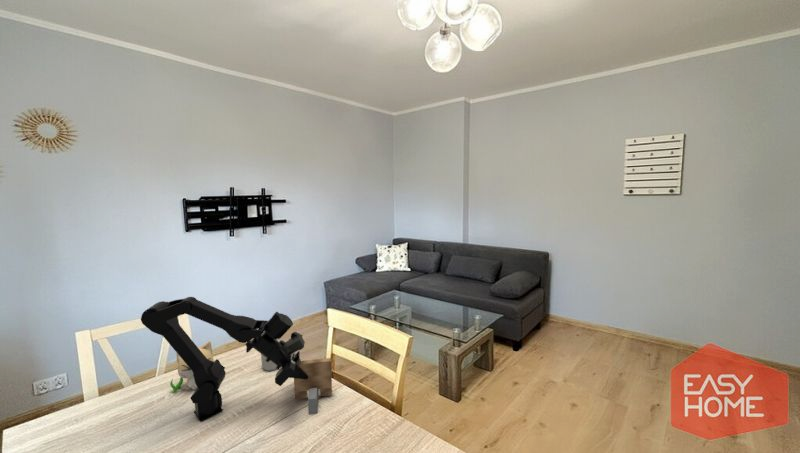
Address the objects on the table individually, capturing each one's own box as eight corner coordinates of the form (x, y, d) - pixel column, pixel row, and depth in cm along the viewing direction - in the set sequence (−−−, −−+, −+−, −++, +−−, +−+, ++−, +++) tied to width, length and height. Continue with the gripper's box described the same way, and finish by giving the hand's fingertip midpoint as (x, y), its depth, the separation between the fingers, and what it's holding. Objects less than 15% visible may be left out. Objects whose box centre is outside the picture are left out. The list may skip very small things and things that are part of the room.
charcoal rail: (317, 413, 102) (316, 398, 102) (308, 414, 102) (308, 399, 101) (318, 386, 116) (318, 373, 115) (311, 387, 115) (310, 374, 115)
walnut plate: (294, 399, 107) (293, 364, 106) (295, 395, 109) (294, 361, 108) (331, 394, 110) (331, 361, 108) (331, 391, 112) (331, 357, 110)
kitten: (169, 400, 110) (165, 358, 108) (172, 384, 118) (168, 345, 116) (220, 385, 117) (217, 346, 115) (219, 372, 126) (216, 335, 124)
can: (268, 374, 124) (266, 344, 122) (258, 367, 128) (256, 338, 127) (286, 365, 130) (284, 336, 128) (275, 359, 134) (273, 331, 133)
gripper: (284, 343, 96) (324, 373, 100) (292, 318, 114) (325, 344, 118) (257, 371, 96) (298, 401, 99) (269, 341, 114) (303, 367, 117)
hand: (307, 376), depth 108 cm, fingers closed on walnut plate, 2 cm apart
